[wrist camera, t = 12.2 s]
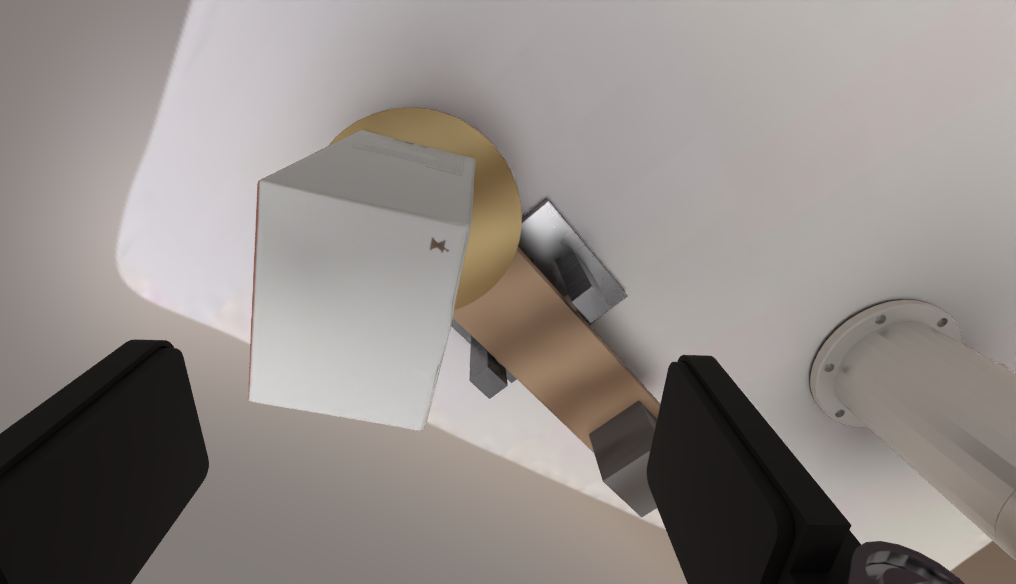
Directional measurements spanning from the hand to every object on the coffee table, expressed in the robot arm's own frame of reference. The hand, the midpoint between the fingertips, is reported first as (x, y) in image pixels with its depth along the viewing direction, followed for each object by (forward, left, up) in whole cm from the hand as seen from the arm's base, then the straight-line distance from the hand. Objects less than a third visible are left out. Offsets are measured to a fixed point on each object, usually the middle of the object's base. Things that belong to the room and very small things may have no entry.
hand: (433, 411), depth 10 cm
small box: (+3, +1, -19) cm, 20 cm away
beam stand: (-5, +9, -27) cm, 29 cm away
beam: (-4, +8, -22) cm, 24 cm away
